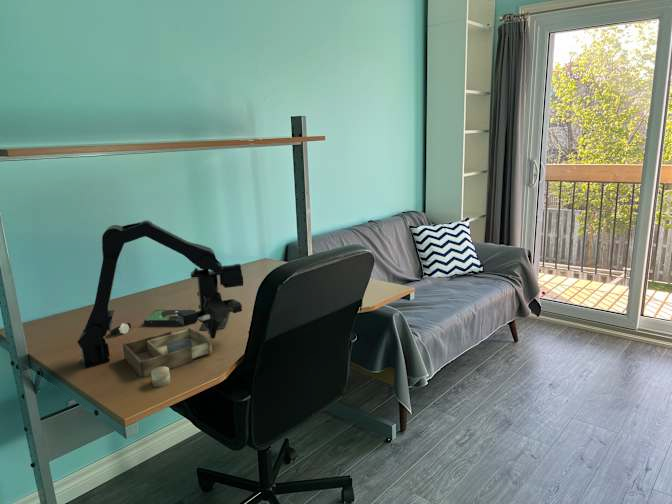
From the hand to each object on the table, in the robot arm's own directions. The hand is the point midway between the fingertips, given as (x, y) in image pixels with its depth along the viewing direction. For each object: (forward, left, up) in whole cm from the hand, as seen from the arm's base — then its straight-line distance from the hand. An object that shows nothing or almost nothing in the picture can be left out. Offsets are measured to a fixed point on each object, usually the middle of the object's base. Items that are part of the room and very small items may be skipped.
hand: (212, 338), depth 153 cm
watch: (-19, +30, -2) cm, 35 cm away
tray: (-10, 0, -1) cm, 10 cm away
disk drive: (-2, +29, -3) cm, 29 cm away
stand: (-21, -14, -2) cm, 25 cm away
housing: (-17, 0, -2) cm, 17 cm away
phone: (+9, +17, -2) cm, 19 cm away
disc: (-10, 0, -1) cm, 11 cm away
